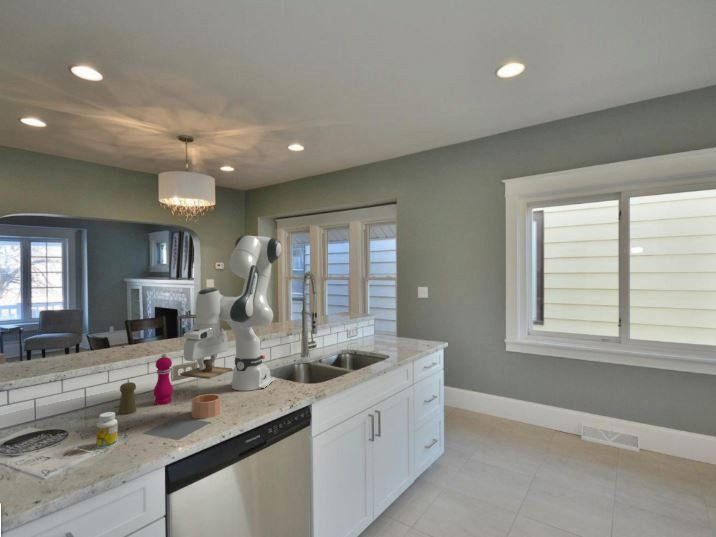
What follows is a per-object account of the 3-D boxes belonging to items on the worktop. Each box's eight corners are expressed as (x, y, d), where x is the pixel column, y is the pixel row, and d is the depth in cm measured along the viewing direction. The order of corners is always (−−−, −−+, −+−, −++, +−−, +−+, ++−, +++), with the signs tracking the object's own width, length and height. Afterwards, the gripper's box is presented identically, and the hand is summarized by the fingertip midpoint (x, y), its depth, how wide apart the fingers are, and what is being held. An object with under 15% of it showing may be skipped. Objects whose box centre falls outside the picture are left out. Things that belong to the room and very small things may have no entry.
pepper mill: (150, 402, 153) (151, 353, 154) (168, 398, 159) (169, 351, 159) (156, 406, 148) (157, 356, 149) (175, 402, 154) (176, 353, 154)
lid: (204, 367, 149) (205, 355, 149) (232, 370, 145) (232, 358, 145) (180, 375, 137) (180, 362, 137) (209, 379, 133) (209, 365, 133)
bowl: (204, 408, 147) (205, 392, 147) (226, 411, 144) (226, 395, 144) (185, 417, 137) (186, 401, 138) (208, 420, 134) (208, 404, 134)
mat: (177, 418, 137) (177, 416, 137) (210, 423, 132) (210, 422, 132) (142, 434, 123) (142, 433, 123) (178, 441, 118) (178, 439, 118)
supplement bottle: (121, 443, 116) (121, 412, 116) (104, 450, 111) (104, 418, 111) (109, 440, 118) (110, 410, 118) (92, 447, 113) (92, 415, 113)
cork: (127, 415, 139) (128, 385, 139) (114, 414, 140) (114, 384, 140) (140, 409, 145) (140, 381, 145) (127, 408, 146) (127, 380, 146)
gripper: (218, 327, 152) (218, 361, 152) (180, 334, 133) (179, 373, 132) (232, 328, 150) (231, 362, 150) (195, 335, 131) (194, 375, 130)
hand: (206, 368), depth 141 cm, fingers closed on lid, 3 cm apart
